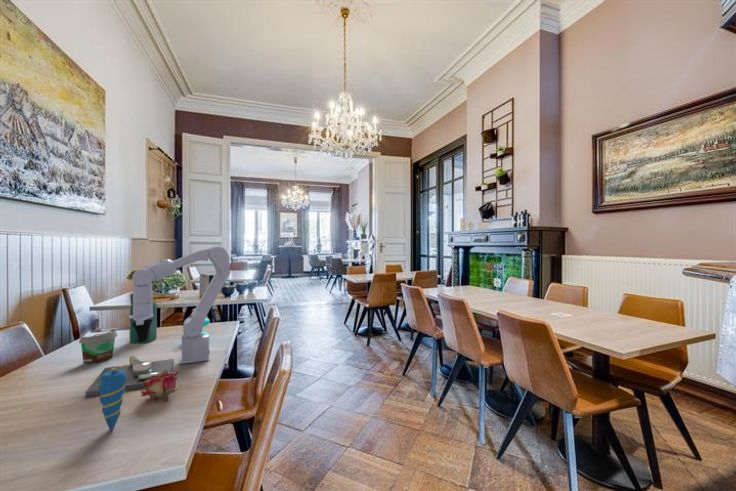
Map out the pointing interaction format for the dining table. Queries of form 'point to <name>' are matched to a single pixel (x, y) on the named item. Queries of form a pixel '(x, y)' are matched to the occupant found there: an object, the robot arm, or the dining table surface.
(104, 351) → the food container
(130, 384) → the grey flat square slab
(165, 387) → the flower
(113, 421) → the ornament
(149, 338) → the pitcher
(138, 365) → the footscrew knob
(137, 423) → the dining table surface
